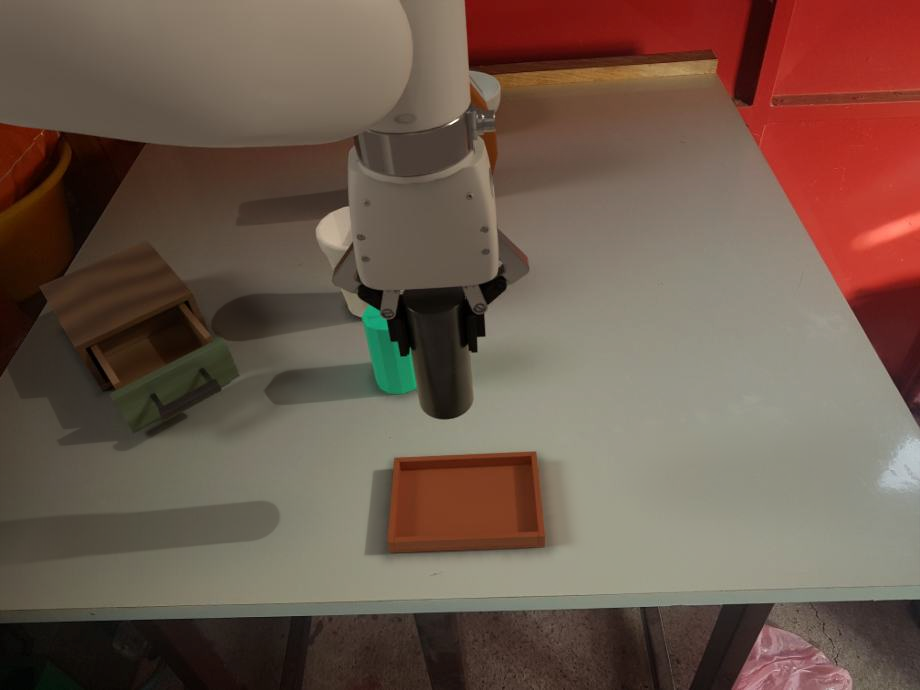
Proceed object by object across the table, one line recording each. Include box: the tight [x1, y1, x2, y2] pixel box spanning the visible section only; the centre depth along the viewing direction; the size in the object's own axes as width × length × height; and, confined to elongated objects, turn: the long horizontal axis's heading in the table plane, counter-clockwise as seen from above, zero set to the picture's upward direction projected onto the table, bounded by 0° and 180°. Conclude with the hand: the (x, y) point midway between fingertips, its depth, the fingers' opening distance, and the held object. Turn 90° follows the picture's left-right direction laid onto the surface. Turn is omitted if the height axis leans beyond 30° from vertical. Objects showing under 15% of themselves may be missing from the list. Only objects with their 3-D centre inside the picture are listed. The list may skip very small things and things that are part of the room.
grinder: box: [402, 286, 475, 421], centre depth 57 cm, size 5×5×12 cm
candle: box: [361, 305, 417, 395], centre depth 81 cm, size 6×6×12 cm
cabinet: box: [38, 240, 211, 392], centre depth 92 cm, size 16×15×8 cm
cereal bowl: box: [469, 70, 502, 113], centre depth 132 cm, size 17×17×7 cm
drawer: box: [90, 303, 241, 434], centre depth 84 cm, size 19×14×6 cm
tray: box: [386, 450, 546, 554], centre depth 71 cm, size 15×10×2 cm
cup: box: [315, 205, 369, 318], centre depth 91 cm, size 10×10×13 cm
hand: (439, 341), depth 56 cm, fingers closed on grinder, 4 cm apart
